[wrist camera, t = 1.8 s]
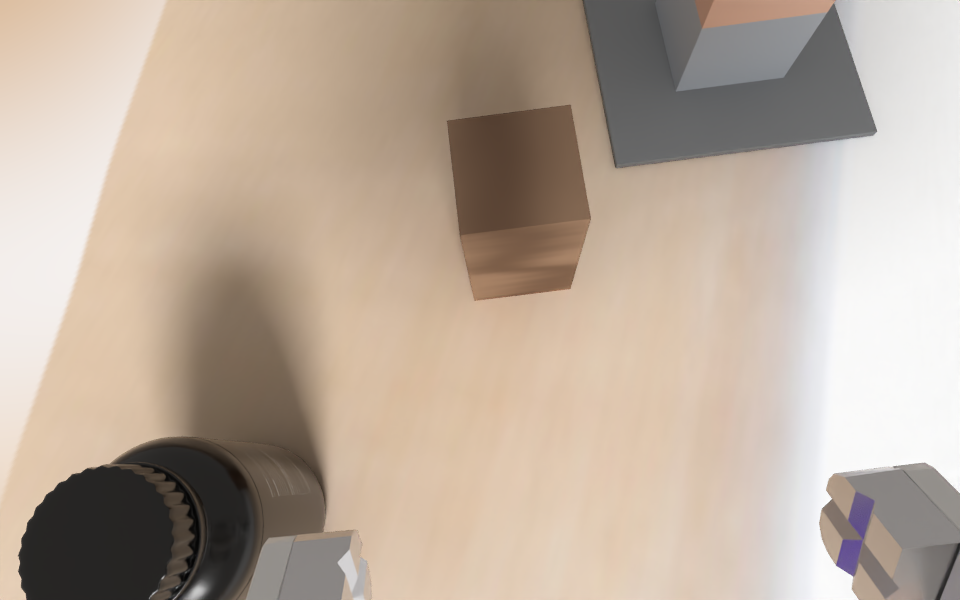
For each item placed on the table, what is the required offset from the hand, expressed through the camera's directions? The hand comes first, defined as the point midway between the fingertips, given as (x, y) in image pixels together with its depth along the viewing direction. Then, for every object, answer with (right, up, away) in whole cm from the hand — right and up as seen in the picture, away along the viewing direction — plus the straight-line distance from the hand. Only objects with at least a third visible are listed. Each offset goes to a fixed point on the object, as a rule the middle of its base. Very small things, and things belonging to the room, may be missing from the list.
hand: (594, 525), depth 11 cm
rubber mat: (+12, +19, +25) cm, 33 cm away
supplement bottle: (-13, -7, +19) cm, 24 cm away
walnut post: (0, +7, +22) cm, 23 cm away
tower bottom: (+12, +19, +24) cm, 33 cm away
